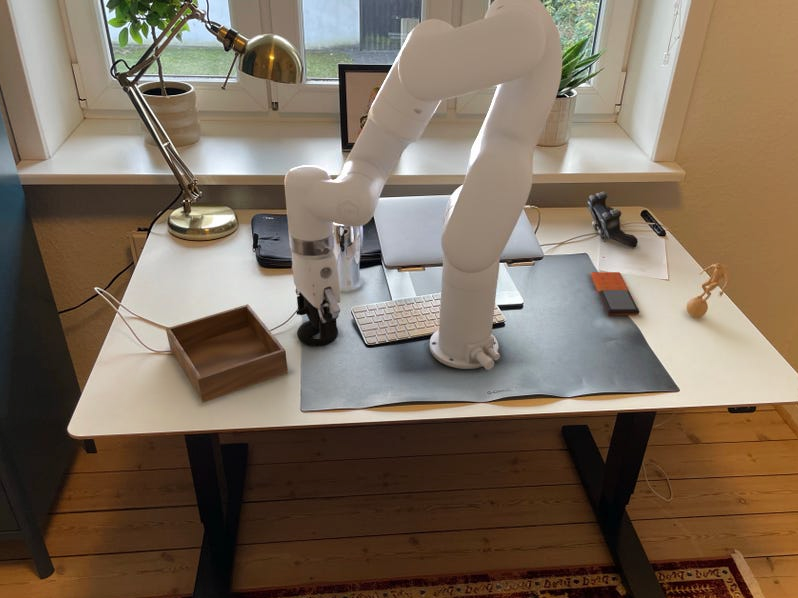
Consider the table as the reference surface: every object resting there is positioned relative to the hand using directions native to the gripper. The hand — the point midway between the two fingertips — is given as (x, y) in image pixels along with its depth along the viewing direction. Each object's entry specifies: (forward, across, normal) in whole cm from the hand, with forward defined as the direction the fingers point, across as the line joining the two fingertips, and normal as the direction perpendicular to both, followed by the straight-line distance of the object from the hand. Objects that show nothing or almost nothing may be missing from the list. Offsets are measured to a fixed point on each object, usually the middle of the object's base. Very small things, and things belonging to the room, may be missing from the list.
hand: (317, 324), depth 136 cm
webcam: (+3, 0, 0) cm, 3 cm away
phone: (+3, -18, -58) cm, 61 cm away
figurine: (+3, -32, -68) cm, 75 cm away
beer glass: (+3, +13, -13) cm, 19 cm away
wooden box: (+3, +1, +17) cm, 17 cm away
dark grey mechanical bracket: (+3, +2, -76) cm, 76 cm away
